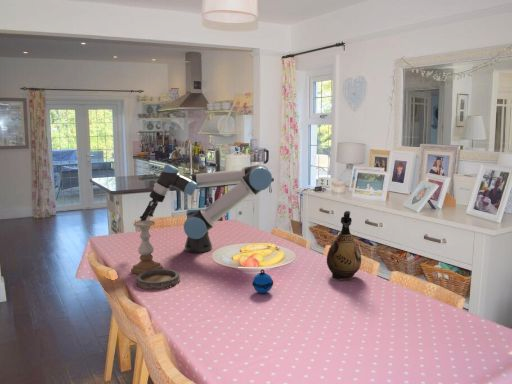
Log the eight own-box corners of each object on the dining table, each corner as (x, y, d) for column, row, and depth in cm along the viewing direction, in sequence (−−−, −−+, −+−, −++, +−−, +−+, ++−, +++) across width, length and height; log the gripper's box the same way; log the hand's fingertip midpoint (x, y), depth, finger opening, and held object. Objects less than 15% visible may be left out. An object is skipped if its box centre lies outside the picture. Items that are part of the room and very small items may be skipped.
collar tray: (182, 274, 220) (181, 268, 219) (177, 288, 201) (176, 282, 201) (141, 275, 219) (140, 269, 219) (132, 290, 200) (132, 283, 200)
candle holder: (130, 272, 223) (127, 224, 220) (145, 266, 233) (143, 219, 229) (148, 276, 218) (145, 226, 215) (163, 269, 228) (160, 221, 224)
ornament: (255, 297, 190) (255, 273, 189) (250, 290, 198) (249, 267, 197) (275, 295, 192) (275, 271, 191) (269, 288, 201) (269, 265, 199)
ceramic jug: (361, 283, 204) (362, 216, 199) (325, 281, 207) (326, 215, 202) (360, 271, 220) (361, 208, 216) (327, 269, 223) (328, 207, 219)
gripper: (157, 187, 254) (139, 221, 256) (147, 191, 229) (128, 229, 231) (169, 193, 255) (151, 227, 256) (161, 198, 230) (141, 236, 231)
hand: (140, 228), depth 243 cm, fingers open, 13 cm apart
